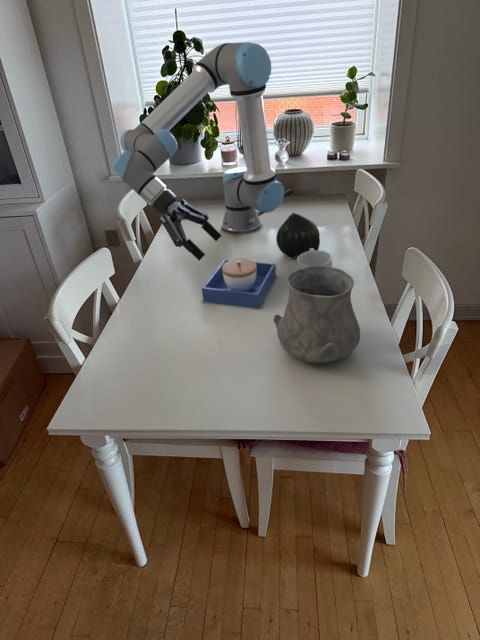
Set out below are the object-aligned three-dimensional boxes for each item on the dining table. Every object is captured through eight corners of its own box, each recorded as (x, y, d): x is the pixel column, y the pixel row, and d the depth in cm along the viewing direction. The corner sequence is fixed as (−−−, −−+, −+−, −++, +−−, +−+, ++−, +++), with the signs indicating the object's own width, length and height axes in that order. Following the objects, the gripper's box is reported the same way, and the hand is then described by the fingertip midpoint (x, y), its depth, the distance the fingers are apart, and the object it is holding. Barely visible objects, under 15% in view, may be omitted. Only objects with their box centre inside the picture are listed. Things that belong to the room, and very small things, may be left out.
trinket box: (240, 276, 149) (238, 250, 143) (264, 286, 142) (263, 259, 137) (216, 289, 142) (213, 263, 137) (241, 300, 136) (239, 273, 131)
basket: (225, 271, 153) (224, 259, 150) (275, 276, 147) (275, 263, 145) (203, 301, 138) (201, 288, 135) (258, 308, 132) (257, 294, 130)
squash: (320, 251, 148) (319, 207, 150) (275, 253, 151) (274, 210, 153) (319, 262, 162) (318, 222, 164) (278, 264, 165) (277, 224, 166)
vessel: (292, 315, 128) (292, 251, 117) (369, 335, 118) (377, 267, 107) (256, 359, 113) (252, 291, 102) (341, 386, 103) (347, 313, 92)
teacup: (330, 289, 139) (331, 265, 134) (295, 287, 141) (295, 264, 136) (332, 267, 150) (333, 245, 145) (299, 266, 152) (299, 245, 148)
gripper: (171, 191, 145) (218, 238, 149) (131, 221, 126) (187, 273, 130) (183, 175, 141) (232, 224, 145) (144, 203, 122) (202, 258, 126)
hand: (211, 247), depth 137 cm, fingers open, 13 cm apart
